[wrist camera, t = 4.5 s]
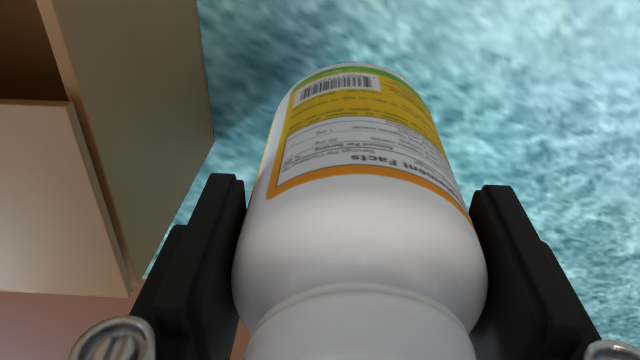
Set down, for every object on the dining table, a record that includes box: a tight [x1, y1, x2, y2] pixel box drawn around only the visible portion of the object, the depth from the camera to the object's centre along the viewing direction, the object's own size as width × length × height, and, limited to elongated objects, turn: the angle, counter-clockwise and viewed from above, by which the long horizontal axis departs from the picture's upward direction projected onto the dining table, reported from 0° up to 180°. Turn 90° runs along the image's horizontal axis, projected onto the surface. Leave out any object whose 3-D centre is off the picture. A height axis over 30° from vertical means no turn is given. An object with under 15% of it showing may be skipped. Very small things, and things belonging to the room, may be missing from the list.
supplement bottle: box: [231, 62, 488, 360], centre depth 11 cm, size 5×5×10 cm
